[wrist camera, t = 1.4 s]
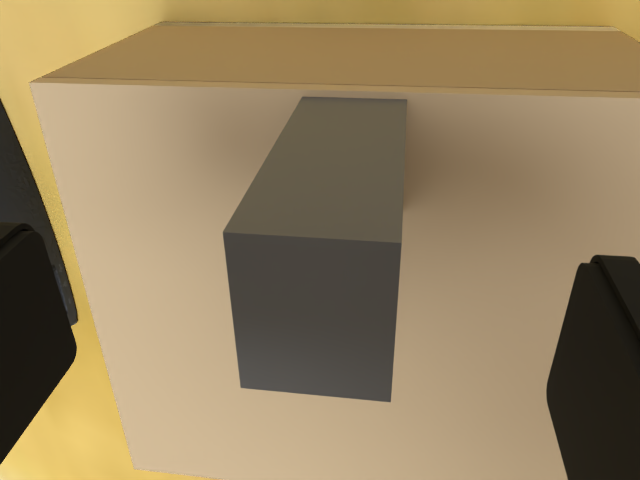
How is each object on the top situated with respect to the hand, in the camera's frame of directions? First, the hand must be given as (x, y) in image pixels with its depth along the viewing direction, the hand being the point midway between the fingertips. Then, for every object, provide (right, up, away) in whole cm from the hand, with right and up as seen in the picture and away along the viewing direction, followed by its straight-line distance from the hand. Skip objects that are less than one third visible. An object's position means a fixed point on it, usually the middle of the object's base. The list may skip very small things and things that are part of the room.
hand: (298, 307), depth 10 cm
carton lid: (+2, -2, +11) cm, 11 cm away
